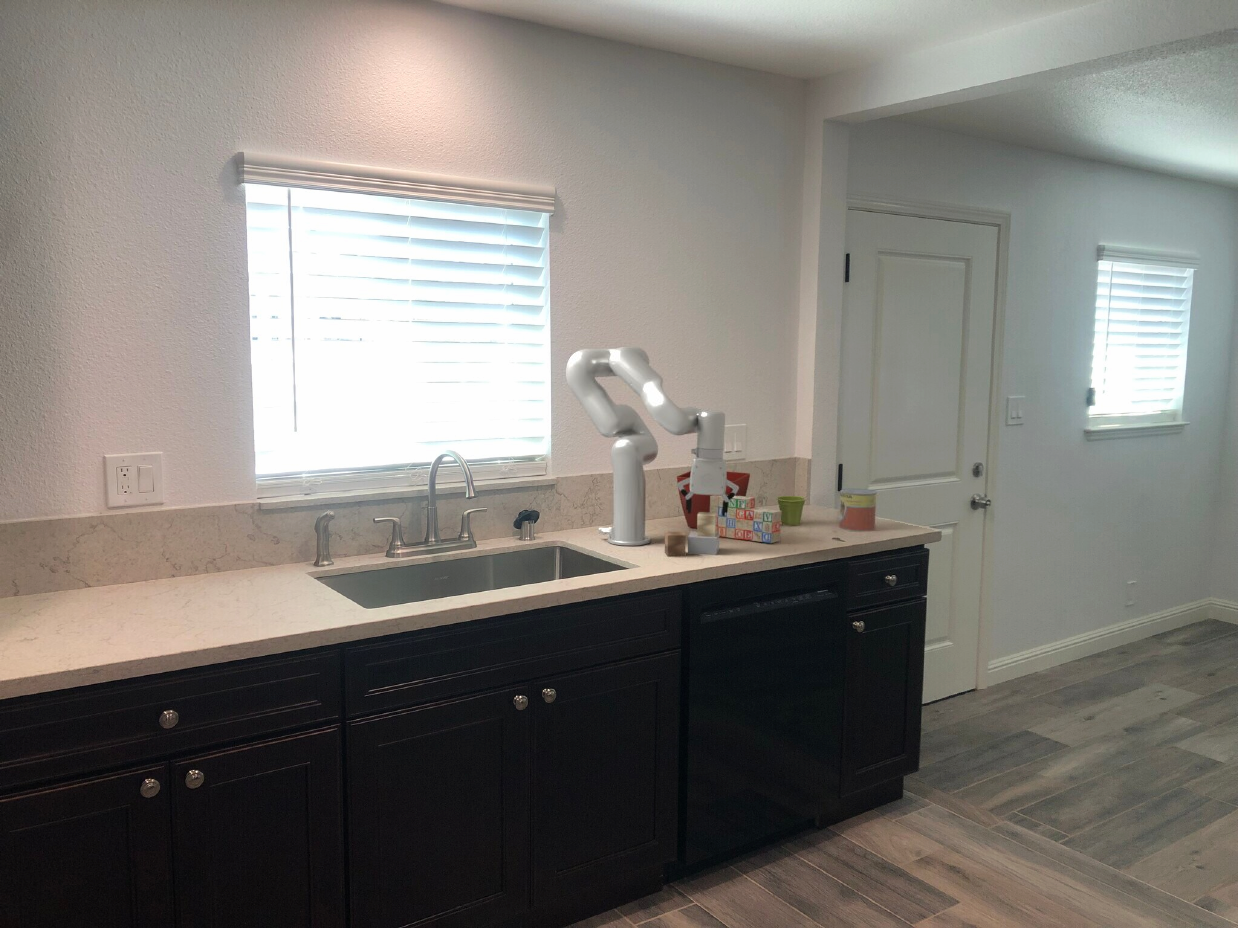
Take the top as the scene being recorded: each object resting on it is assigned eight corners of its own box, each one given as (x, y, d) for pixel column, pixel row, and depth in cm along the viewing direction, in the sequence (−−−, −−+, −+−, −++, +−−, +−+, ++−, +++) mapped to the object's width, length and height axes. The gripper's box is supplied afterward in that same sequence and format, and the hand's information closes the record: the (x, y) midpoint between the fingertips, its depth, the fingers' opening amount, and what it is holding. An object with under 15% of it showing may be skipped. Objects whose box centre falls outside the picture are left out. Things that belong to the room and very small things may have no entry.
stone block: (687, 554, 264) (687, 536, 263) (691, 548, 271) (691, 531, 271) (716, 555, 262) (716, 538, 261) (718, 549, 270) (719, 532, 269)
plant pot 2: (792, 528, 301) (793, 501, 300) (770, 523, 308) (770, 497, 307) (811, 524, 306) (811, 498, 305) (788, 520, 314) (789, 495, 313)
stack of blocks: (780, 541, 281) (782, 500, 279) (770, 543, 276) (772, 502, 274) (718, 532, 293) (720, 493, 292) (708, 534, 288) (709, 495, 287)
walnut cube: (667, 556, 260) (667, 535, 259) (664, 552, 264) (664, 531, 264) (685, 556, 260) (685, 535, 259) (682, 552, 265) (682, 531, 264)
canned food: (834, 524, 307) (836, 488, 306) (868, 524, 308) (870, 488, 306) (844, 531, 296) (845, 494, 295) (879, 531, 297) (881, 494, 295)
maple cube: (696, 536, 264) (697, 515, 263) (698, 532, 269) (698, 511, 268) (714, 536, 263) (715, 515, 262) (715, 533, 268) (716, 512, 267)
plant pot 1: (732, 534, 290) (734, 480, 288) (674, 528, 298) (675, 476, 296) (749, 523, 308) (751, 473, 306) (694, 518, 315) (695, 468, 313)
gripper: (677, 454, 261) (674, 514, 263) (740, 457, 258) (736, 518, 261) (680, 450, 268) (677, 509, 271) (741, 454, 266) (737, 513, 268)
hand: (706, 513), depth 266 cm, fingers open, 9 cm apart
